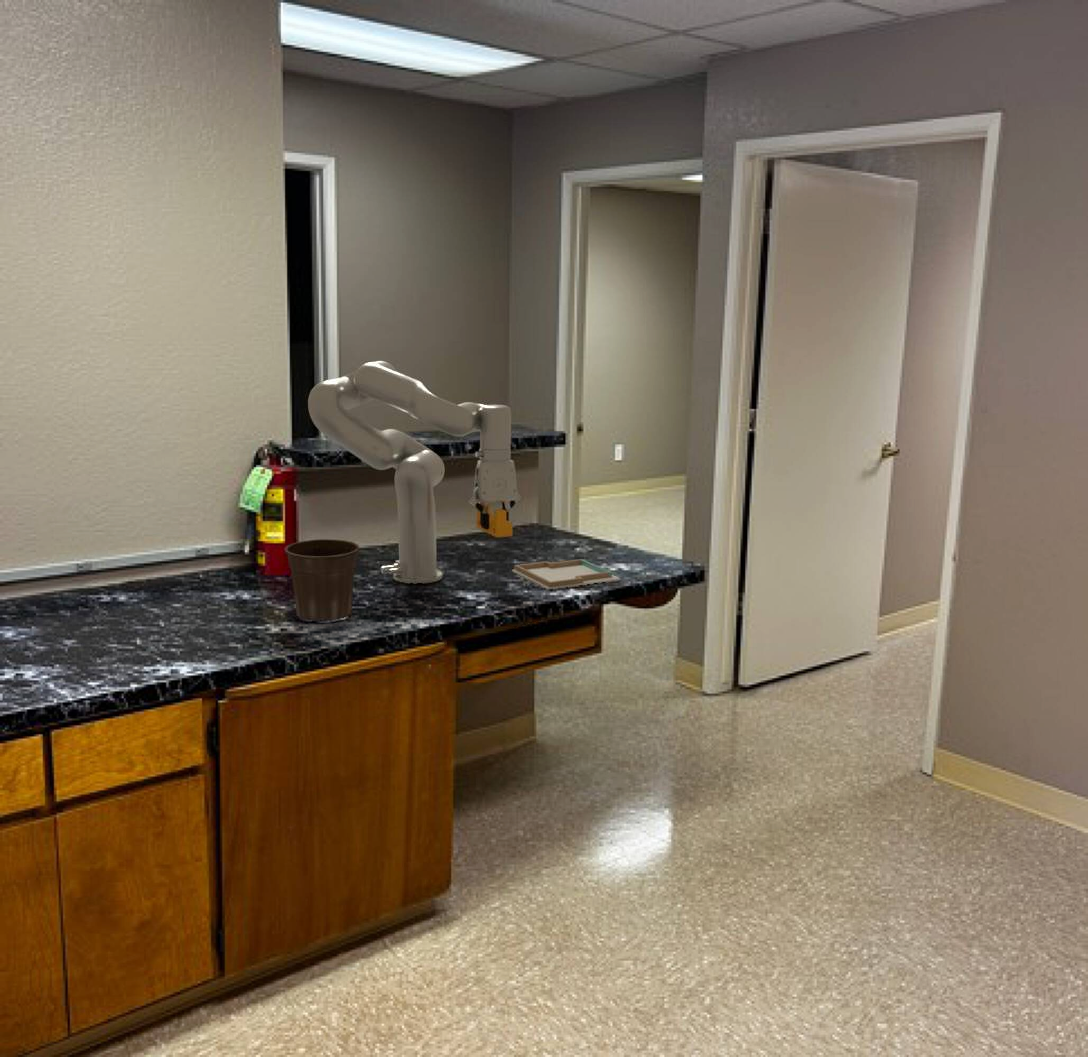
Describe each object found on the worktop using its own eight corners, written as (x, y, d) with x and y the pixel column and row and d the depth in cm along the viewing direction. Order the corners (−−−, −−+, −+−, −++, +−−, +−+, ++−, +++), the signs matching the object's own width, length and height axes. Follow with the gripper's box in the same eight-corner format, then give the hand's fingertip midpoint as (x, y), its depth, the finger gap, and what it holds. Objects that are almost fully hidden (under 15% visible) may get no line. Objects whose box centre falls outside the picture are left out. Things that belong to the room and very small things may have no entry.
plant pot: (375, 616, 244) (373, 547, 240) (314, 632, 232) (311, 559, 229) (334, 602, 255) (331, 535, 251) (274, 616, 244) (270, 546, 240)
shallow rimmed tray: (547, 590, 266) (547, 583, 266) (512, 571, 284) (512, 565, 283) (620, 580, 276) (620, 573, 276) (581, 563, 293) (581, 556, 293)
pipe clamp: (512, 535, 266) (512, 510, 265) (496, 537, 264) (496, 511, 263) (491, 526, 276) (492, 501, 275) (476, 527, 274) (476, 502, 273)
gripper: (470, 459, 259) (469, 533, 263) (532, 455, 267) (531, 527, 270) (457, 454, 265) (457, 527, 269) (519, 451, 273) (517, 521, 277)
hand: (494, 526), depth 270 cm, fingers closed on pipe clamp, 4 cm apart
